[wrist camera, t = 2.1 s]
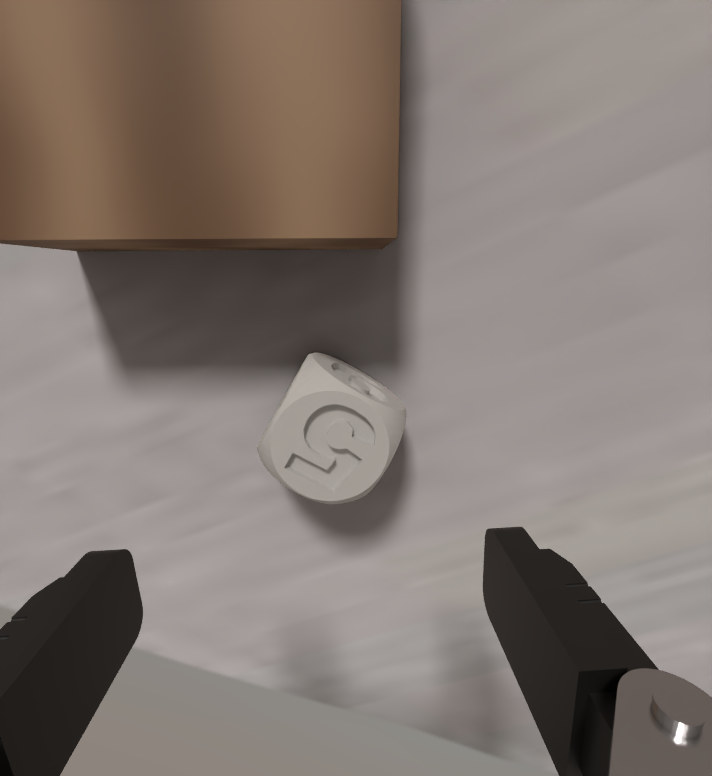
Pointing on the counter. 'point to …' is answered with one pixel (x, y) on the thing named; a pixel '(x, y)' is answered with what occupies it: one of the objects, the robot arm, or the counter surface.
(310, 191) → the walnut block
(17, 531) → the counter surface
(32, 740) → the robot arm
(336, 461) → the die
